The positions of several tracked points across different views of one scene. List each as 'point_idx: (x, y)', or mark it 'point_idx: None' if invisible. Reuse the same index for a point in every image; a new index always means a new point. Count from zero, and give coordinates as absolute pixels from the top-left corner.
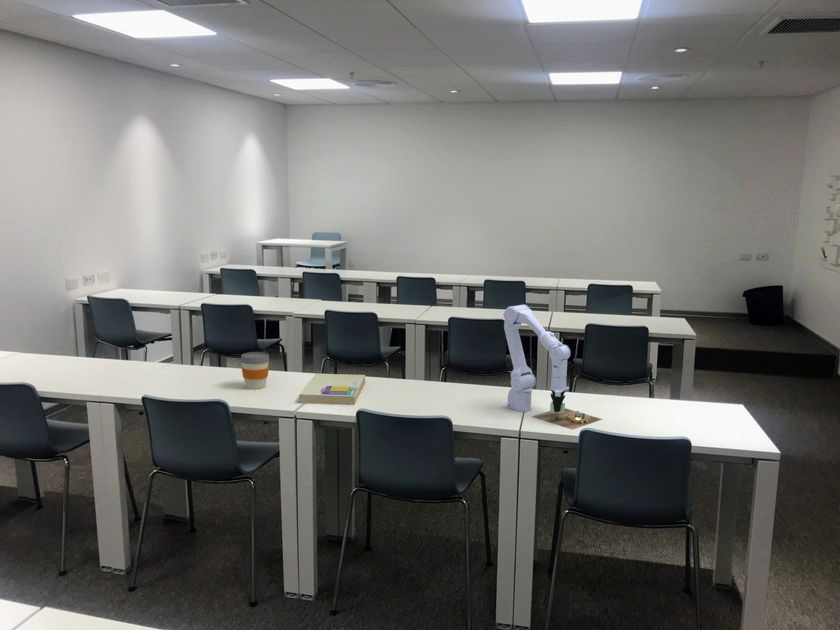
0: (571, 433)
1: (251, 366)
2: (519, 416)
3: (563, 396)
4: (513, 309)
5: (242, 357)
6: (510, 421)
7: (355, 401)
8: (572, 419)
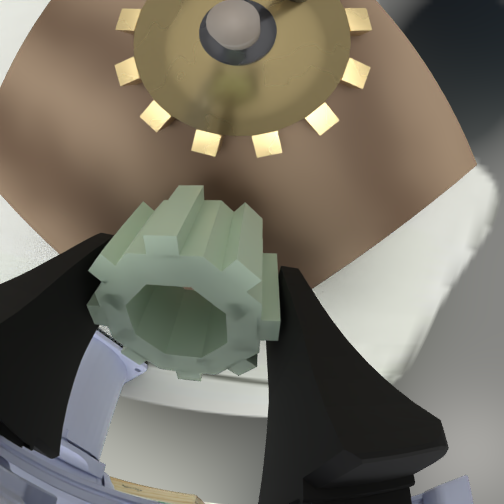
0: (482, 173)
1: None
2: (172, 376)
3: (432, 459)
4: None
5: None
6: (256, 406)
7: (187, 497)
8: (328, 107)
